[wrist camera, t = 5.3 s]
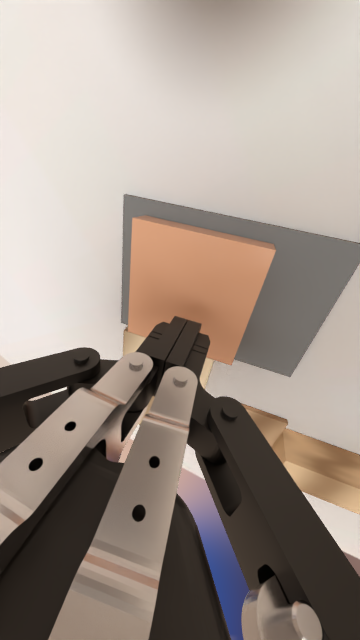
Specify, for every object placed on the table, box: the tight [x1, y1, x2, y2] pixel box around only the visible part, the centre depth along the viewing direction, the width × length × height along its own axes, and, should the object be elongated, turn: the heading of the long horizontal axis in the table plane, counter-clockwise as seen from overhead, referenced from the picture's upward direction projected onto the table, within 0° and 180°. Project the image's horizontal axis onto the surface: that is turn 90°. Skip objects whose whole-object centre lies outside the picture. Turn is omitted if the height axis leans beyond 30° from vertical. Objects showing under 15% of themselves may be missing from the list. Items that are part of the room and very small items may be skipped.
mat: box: [121, 195, 360, 377], centre depth 17 cm, size 16×11×1 cm
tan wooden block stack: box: [241, 403, 360, 514], centre depth 21 cm, size 13×6×4 cm, turn 81°
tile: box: [128, 215, 276, 365], centre depth 16 cm, size 2×9×9 cm
